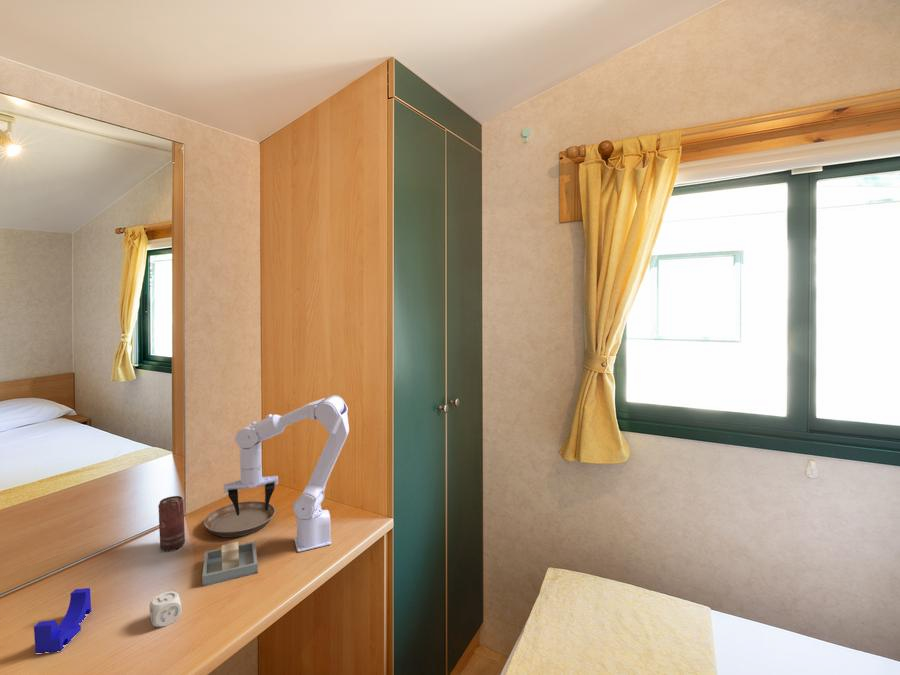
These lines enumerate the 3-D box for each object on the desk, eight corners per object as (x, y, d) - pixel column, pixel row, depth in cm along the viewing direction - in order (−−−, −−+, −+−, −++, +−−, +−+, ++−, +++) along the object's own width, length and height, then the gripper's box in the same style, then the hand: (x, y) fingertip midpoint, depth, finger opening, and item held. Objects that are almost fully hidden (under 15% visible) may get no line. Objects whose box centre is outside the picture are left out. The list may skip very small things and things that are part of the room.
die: (149, 619, 98) (148, 598, 98) (175, 608, 102) (174, 588, 101) (155, 631, 94) (154, 608, 94) (181, 619, 98) (181, 597, 98)
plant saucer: (284, 526, 141) (284, 516, 140) (212, 549, 127) (212, 538, 127) (263, 504, 156) (263, 495, 156) (198, 522, 143) (197, 512, 143)
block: (238, 559, 121) (238, 541, 120) (239, 566, 117) (238, 548, 117) (222, 563, 119) (221, 545, 119) (222, 570, 115) (221, 552, 115)
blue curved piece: (60, 652, 89) (59, 624, 88) (35, 655, 88) (33, 626, 88) (98, 612, 100) (97, 587, 100) (76, 614, 100) (75, 589, 99)
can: (174, 553, 125) (172, 505, 124) (155, 550, 126) (153, 503, 125) (190, 542, 131) (188, 496, 130) (172, 539, 132) (170, 494, 131)
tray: (255, 549, 127) (254, 541, 126) (257, 572, 115) (257, 563, 115) (205, 560, 121) (204, 552, 121) (202, 586, 110) (202, 576, 110)
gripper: (223, 474, 122) (224, 522, 123) (278, 466, 129) (279, 511, 130) (223, 466, 129) (224, 512, 130) (276, 459, 135) (277, 502, 136)
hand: (252, 511), depth 130 cm, fingers open, 7 cm apart
